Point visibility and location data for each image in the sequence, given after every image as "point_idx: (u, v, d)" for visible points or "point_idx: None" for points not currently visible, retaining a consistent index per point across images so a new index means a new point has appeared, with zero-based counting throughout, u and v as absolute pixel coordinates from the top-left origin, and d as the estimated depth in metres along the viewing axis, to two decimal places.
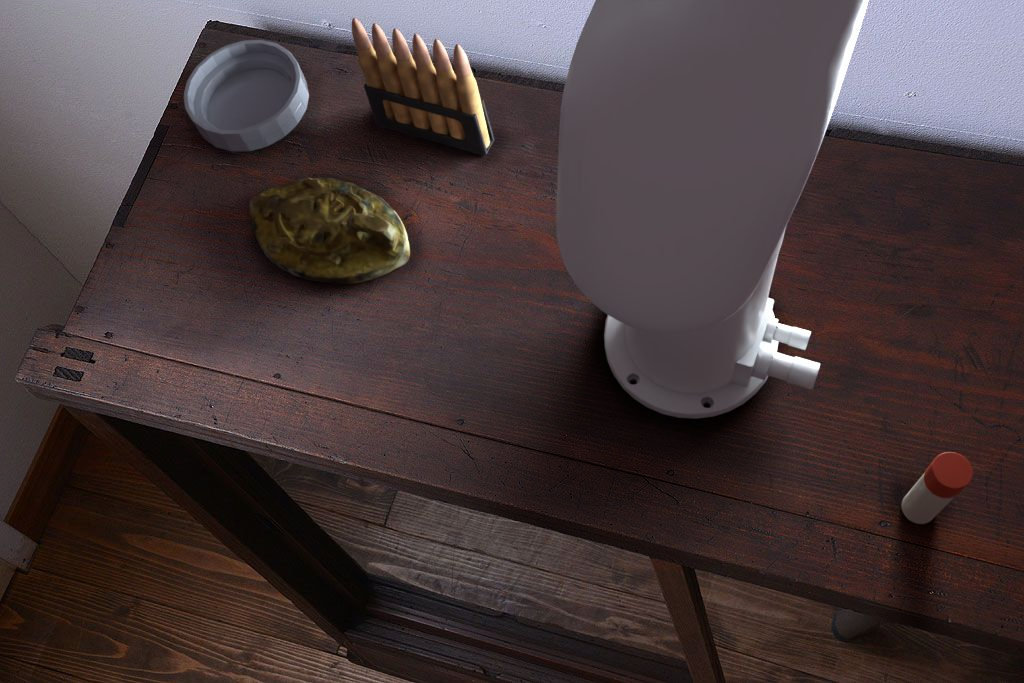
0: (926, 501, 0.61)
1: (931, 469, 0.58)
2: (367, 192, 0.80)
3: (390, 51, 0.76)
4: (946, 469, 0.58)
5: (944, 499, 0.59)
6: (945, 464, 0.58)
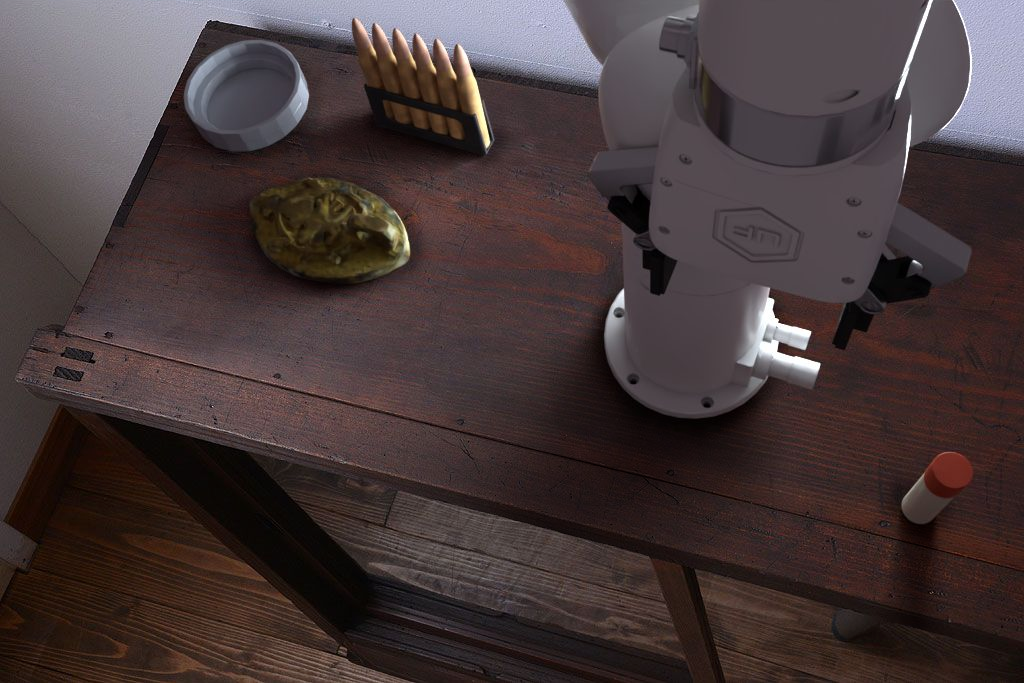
0: (926, 501, 0.61)
1: (931, 469, 0.58)
2: (367, 192, 0.80)
3: (390, 51, 0.76)
4: (946, 469, 0.58)
5: (944, 499, 0.59)
6: (945, 464, 0.58)
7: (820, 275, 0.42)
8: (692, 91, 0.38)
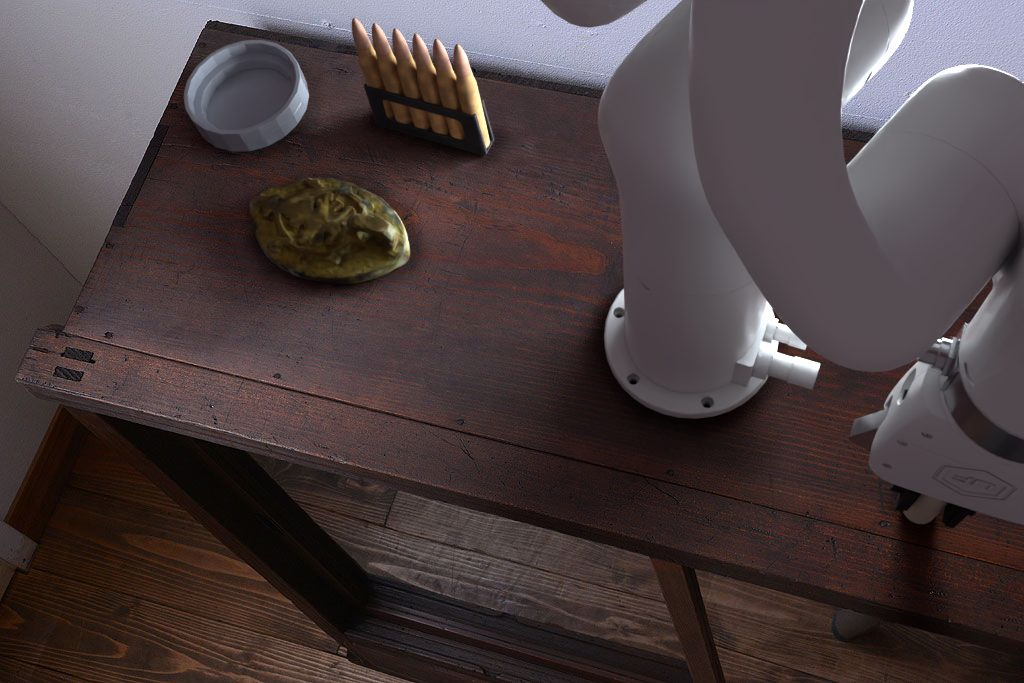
0: (926, 501, 0.61)
1: None
2: (367, 192, 0.80)
3: (390, 51, 0.76)
4: None
5: None
6: None
7: (1021, 510, 0.52)
8: (937, 387, 0.48)
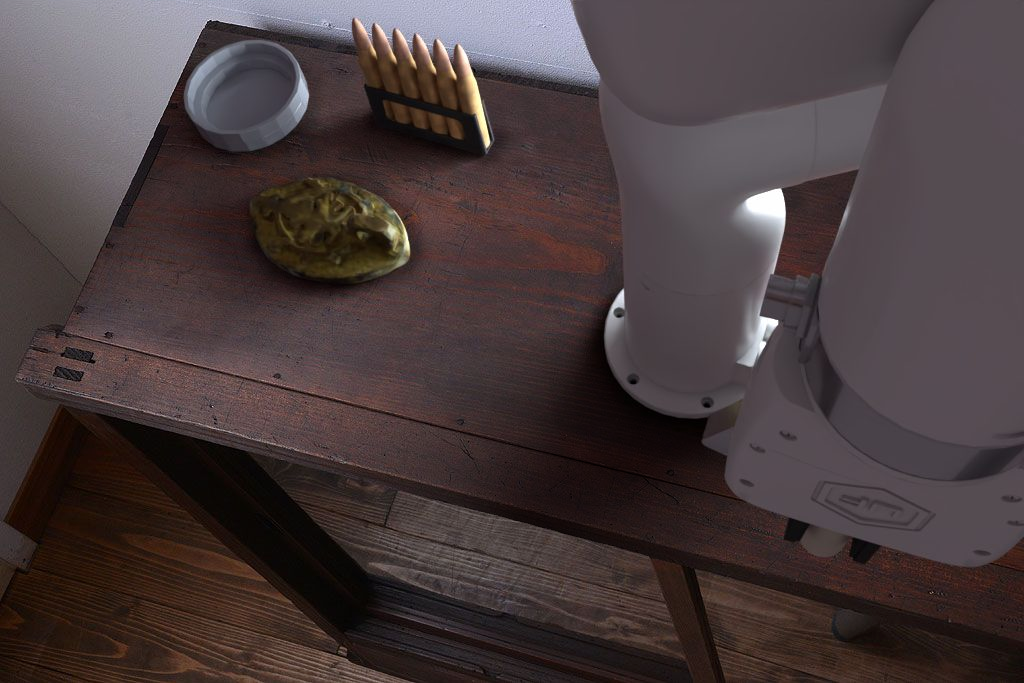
0: (824, 528, 0.42)
1: None
2: (367, 192, 0.80)
3: (390, 51, 0.76)
4: None
5: None
6: None
7: (946, 545, 0.34)
8: (798, 358, 0.30)
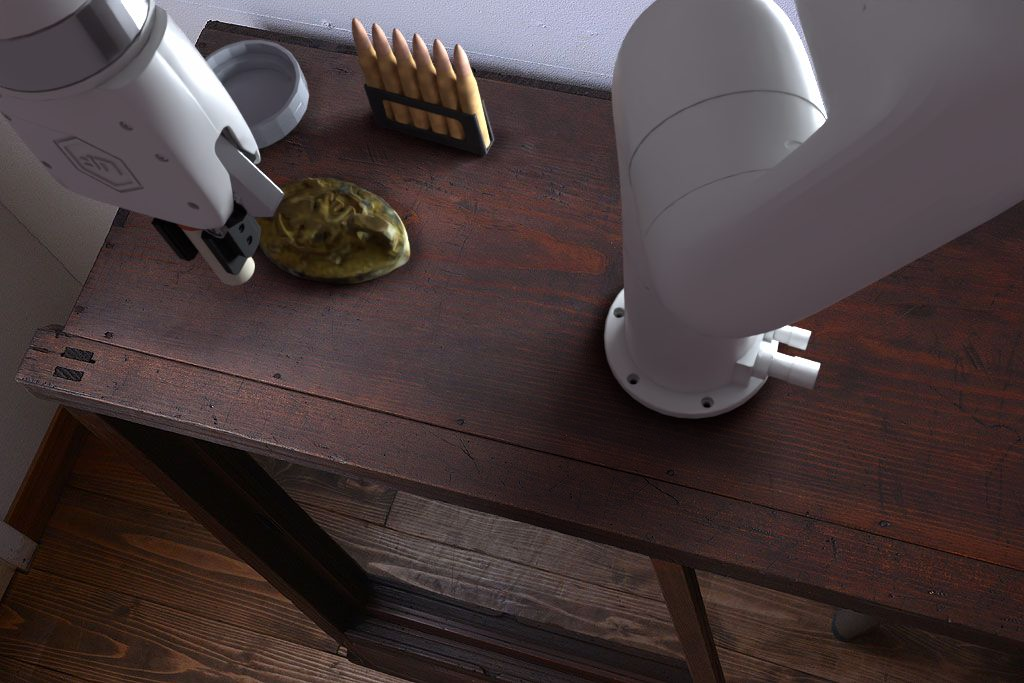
0: (193, 243, 0.53)
1: None
2: (367, 192, 0.80)
3: (390, 51, 0.76)
4: None
5: (195, 234, 0.52)
6: None
7: (171, 201, 0.45)
8: None
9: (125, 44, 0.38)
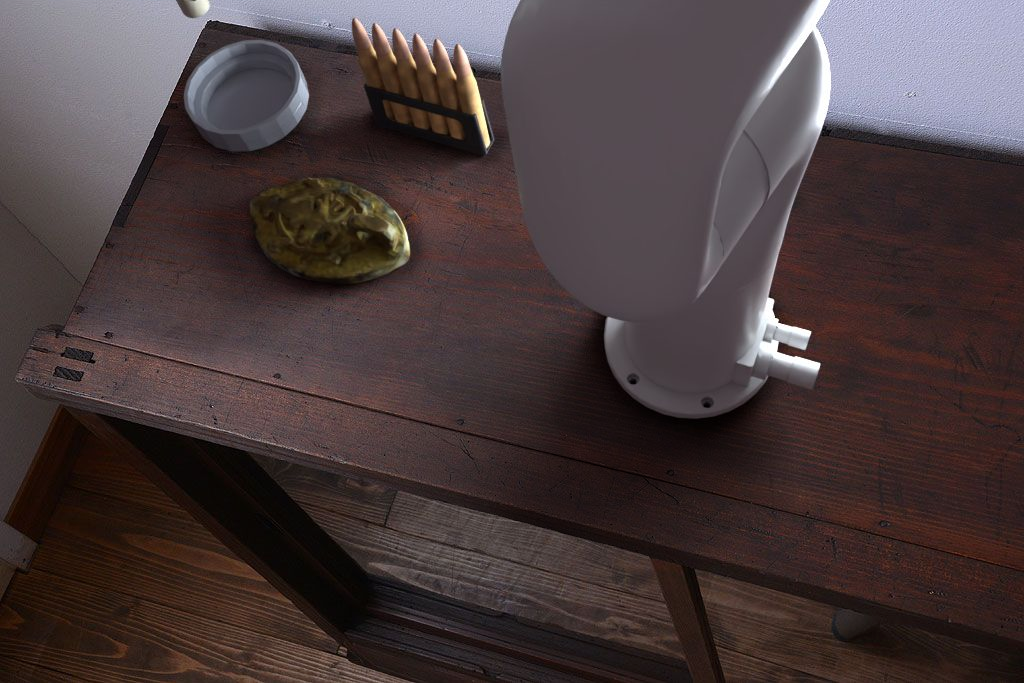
0: None
1: None
2: (367, 192, 0.80)
3: (390, 51, 0.76)
4: None
5: None
6: None
7: None
8: None
9: None
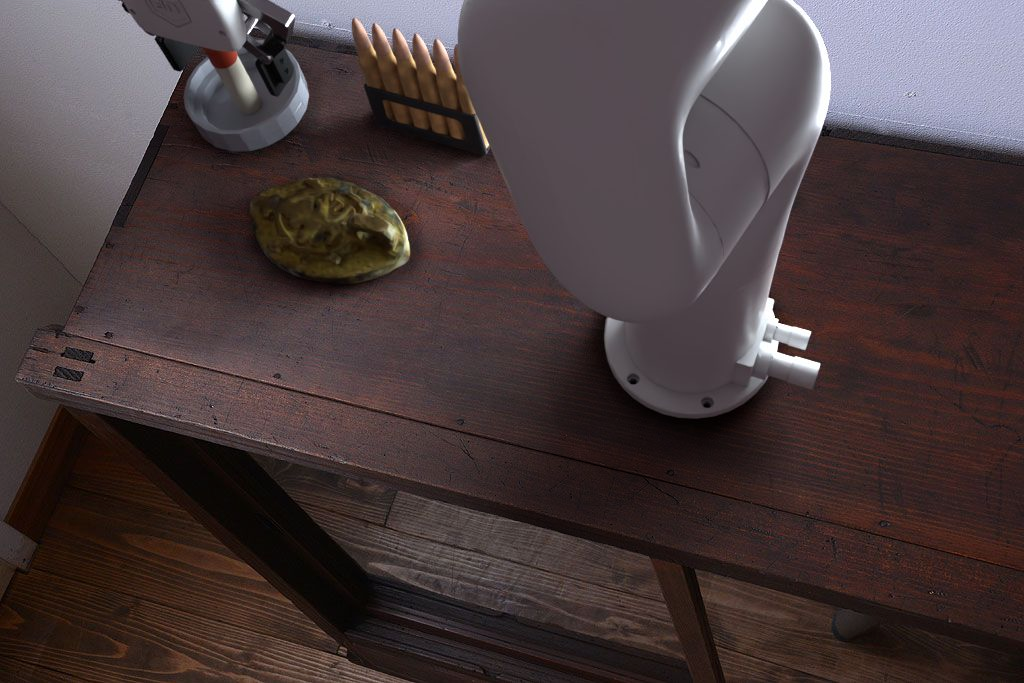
0: (222, 80, 0.83)
1: None
2: (367, 192, 0.80)
3: (390, 51, 0.76)
4: None
5: (223, 71, 0.81)
6: None
7: (208, 31, 0.74)
8: None
9: None
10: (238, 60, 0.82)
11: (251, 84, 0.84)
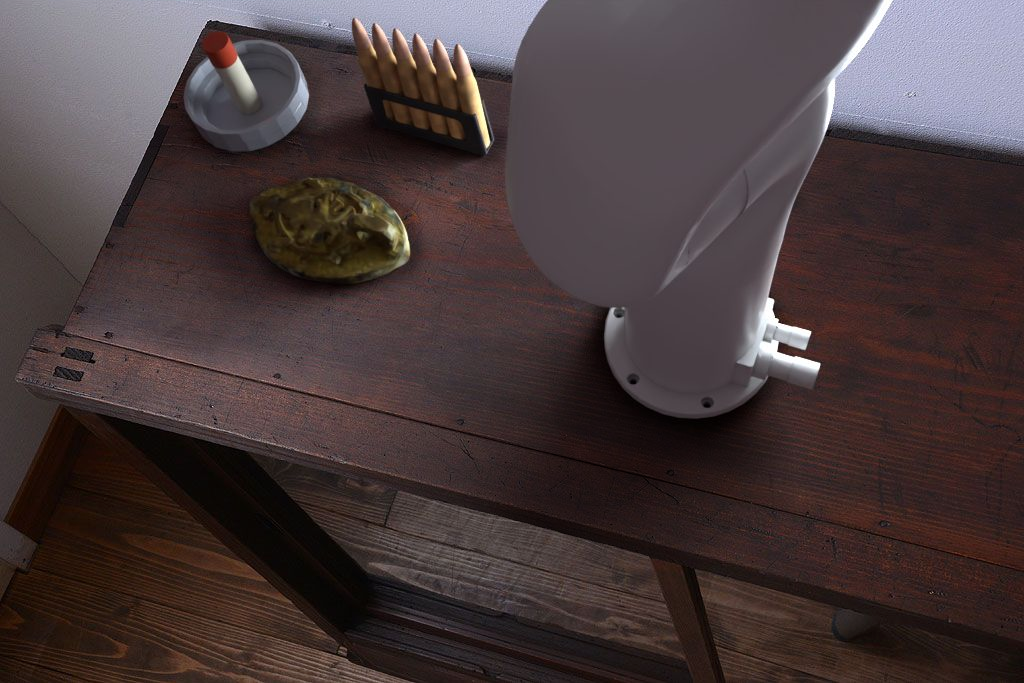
0: (222, 80, 0.83)
1: None
2: (367, 192, 0.80)
3: (390, 51, 0.76)
4: (211, 41, 0.80)
5: (223, 71, 0.81)
6: (211, 38, 0.80)
7: None
8: None
9: None
10: (238, 60, 0.82)
11: (251, 84, 0.84)
